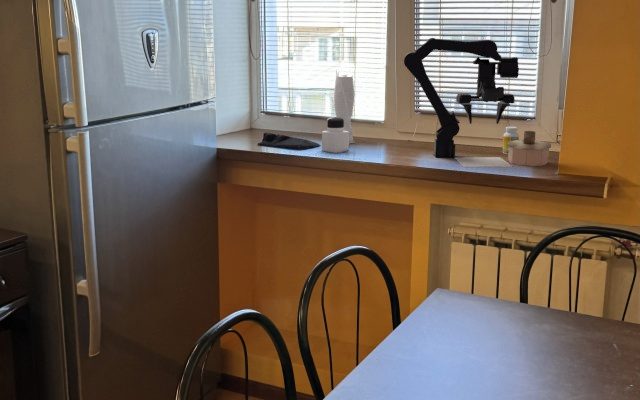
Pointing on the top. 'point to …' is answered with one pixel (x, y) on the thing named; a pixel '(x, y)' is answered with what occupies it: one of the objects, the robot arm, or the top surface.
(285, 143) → the crumpled black cloth
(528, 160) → the bowl
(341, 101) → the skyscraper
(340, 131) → the medicine bottle
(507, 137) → the supplement bottle
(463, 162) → the mat
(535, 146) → the lid
